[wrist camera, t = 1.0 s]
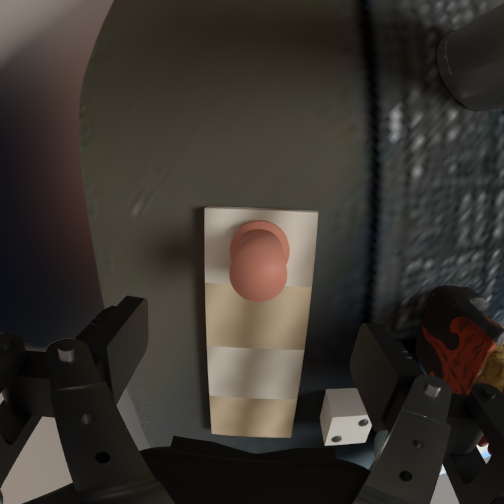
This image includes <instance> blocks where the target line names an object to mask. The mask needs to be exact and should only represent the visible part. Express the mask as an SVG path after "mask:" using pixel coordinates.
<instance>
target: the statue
mask: <svg viewBox="0 0 504 504" xmlns="http://www.w3.org/2000/svg"><path fill="white" fill-rule="evenodd" d="M484 306H485V300H484V298H483V297H482V296H481V295H480V294H478V293H477V292H475V291H474V290H472V289H470V288H467V287H465V288H464V287H456V286H443V287H439V288H437V289H436V290H435V291H434V292H433V294H432V296H431V298H430V300H429V302H428V305H427V307H426V310H425V314H424V316H423V320H422V322H421V325H420V329H419V334H418V336H417V340H416V348H415V349H416V354H417V357H418V359H419V361H420V363H421V365H422V366H423V368H424V370H425V371H426V373H427V375H432V376H436V377H438V378H441V379H442V380H444V381H445V382H447V383H448V384H449V386H450V387H451V389H452V393H455V394H463V395H468V394H469V392H470V390H471V388H472V386H473V385H474V384H476V383H487V384H490V385H492V386H494V387H496V388H497V389H498V390H499V391H500V392H501V393H502V394H503V395H504V329H503V327H502V326H501V325H499V324H497V323H495V322H494V321H493V318H492V317H490V316H487V315H486V314H485V313H484V312H483V311H484ZM487 444H489V442H488V440H487V439H486V437H485V435H483V436H482V438H481V439H480V441H479V442H478V445H479V446H480V447H483V446H486V445H487ZM488 452H489V454H490V455H491V454H492V448H491V445H490V444H489V445H488Z"/></svg>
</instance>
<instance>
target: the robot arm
mask: <svg viewBox="0 0 504 504" xmlns="http://www.w3.org/2000/svg"><path fill="white" fill-rule="evenodd" d="M437 65H438V69H439V72H440V75H441V78H442V80H443V82H444V84H445V86H446V87H447V89H448V90H449V92H450V93H451V94H452V95H453V96H454V97H455V99H456V100H457V101H459V102H460V103H461V104H462V105H464V106H465V107H467V108H469V109H472V110H475V111H487V110H493V109H500V108H504V3H503V4H501V5H499V6H497V7H495V8H493V9H492V10H490V11H488V12H486V13H484V14H483V15H481V16H479V17H477V18H476V19H474V20H472V21H470V22H469V23H467V24H465V25H463V26H462V27H460V28H458V29H457V30H455V31H453V32H452V33H450V34H448V35H447V36H445V37H444V38H443V39H442V40H441V41H440V43H439V45H438V48H437ZM147 344H148V303H147V299H145V298H139V297H133V296H126V297H125V298H124V299H123V300H122V301H121V302H120V303H119V304H118V305H117V306H111V307H109V308H106V309H104V310H102V311H101V312H100V313H99V314H98V315H97V316H96V318H95V319H93V320H92V321H91V323H90V324H89V325H88V326H86V328H85V329H84V330H83V331H82V332H81V333H80V334H79V335H78V336H77V337H76V338H75V339H61V340H57V341H55V342H53V343H51V344H50V345H49V346H48V347H47V349H46V352H39V351H27V350H26V348H25V344H24V340H23V339H22V338H21V337H20V336H18V335H15V334H2V335H0V393H1V392H2V395H3V397H4V400H3V401H2V403H1V404H0V488H1V486H2V484H3V482H4V480H5V479H6V477H7V475H8V473H9V471H10V470H11V468H12V466H13V464H14V463H15V461H16V459H17V457H18V456H19V454H20V452H21V450H22V449H23V447H24V445H25V444H26V442H27V440H28V439H29V437H30V435H31V434H32V432H33V431H34V429H35V427H36V426H37V424H38V422H39V421H40V419H41V418H42V416H45V417H54V418H55V420H56V425H57V429H58V433H59V437H60V441H61V445H62V449H63V452H64V456H65V459H66V462H67V466H68V468H69V472H70V475H71V478H72V481H73V483H71V484H69V485H66V486H64V487H62V488H60V489H57V490H55V491H53V492H51V493H48V494H46V495H43V496H41V497H38V498H36V499H33V500H31V501H28V502H25V503H23V504H430V502H431V499H432V495H433V493H434V490H435V486H436V483H437V480H438V477H439V474H440V470H441V467H442V464H443V466H444V468H445V470H446V473H447V475H448V477H449V480H450V482H451V484H452V487H453V489H454V491H455V493H456V496H457V498H458V501H459V503H460V504H504V395H503V394H502V393H501V392H500V391H499V390H498V389H497V388H496V387H494V386H492V385H490V384H487V383H476V384H474V385H473V386H472V388H471V390H470V392H469V394H468V395H463V394H455V393H452V389H451V387H450V386H449V384H448V383H447V382H445V381H444V380H442V379H441V378H438V377H436V376H432V375H425V374H424V373H423V371H422V370H421V369H420V367H419V366H418V365H417V363H416V362H415V360H414V359H412V356H411V355H410V354H409V353H407V350H406V348H405V347H404V346H403V344H402V343H400V342H399V341H398V340H396V339H395V338H393V337H391V336H390V335H389V333H388V332H387V331H386V329H385V328H384V326H383V325H382V324H368V323H363V324H362V325H361V326H360V329H359V332H358V335H357V339H356V342H355V346H354V349H353V352H352V355H351V359H350V373H351V376H352V378H353V381H354V383H355V385H356V388H357V390H358V393H359V395H360V397H361V400H362V402H363V405H364V407H365V410H366V412H367V415H368V417H369V419H370V422H371V424H372V427H373V429H374V431H385V430H387V431H388V435H387V437H386V438H385V440H384V442H383V444H382V446H381V448H380V450H379V452H378V453H377V455H376V457H375V459H374V461H373V462H372V464H371V466H370V468H369V469H366V468H365V467H362V466H360V465H358V464H355V463H352V462H349V461H345V460H341V459H337V458H336V454H335V450H334V448H294V449H288V450H282V451H275V452H268V453H261V454H253V453H249V452H245V451H242V450H238V449H235V448H231V447H228V446H225V445H222V444H218V443H215V442H210V441H203V440H196V439H190V438H184V437H178V436H173V440H172V443H171V446H168V447H155V448H149V449H145V450H141V451H139V450H138V448H137V446H136V445H135V443H134V441H133V439H132V437H131V435H130V433H129V431H128V429H127V427H126V425H125V423H124V421H123V419H122V417H121V415H120V412H119V410H118V408H117V406H116V405H117V403H118V401H119V399H120V397H121V395H122V393H123V391H124V389H125V388H126V386H127V384H128V382H129V380H130V379H131V377H132V375H133V373H134V371H135V369H136V368H137V366H138V364H139V362H140V360H141V359H142V357H143V355H144V353H145V351H146V349H147ZM483 435H485V437H486V439H487V440H488V442H489V444H490V445H491V448H492V454H491V458H490V460H489V461H488V463H487V464H486V463H485V461H484V459H483V458H482V456H481V454H480V452H479V450H478V449H477V447H476V445H477V444H478V442H479V441H480V439H481V438H482V436H483ZM0 504H3V495H2V492H1V490H0Z"/></svg>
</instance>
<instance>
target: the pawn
mask: <svg viewBox="0 0 504 504" xmlns="http://www.w3.org/2000/svg"><path fill="white" fill-rule="evenodd" d="M289 254H290V248H289V243H288V240H287V237H286V235H285V233H284V232H283V231H282V229H281V228H279V227H278V226H277V225H275V224H274V223H272V222H269V221H265V220H255V221H251V222H248V223H246V224H244V225H243V226H241V227H240V228H239V229H238V230H237V231H236V233H235V234H234V236H233V239H232V241H231V245H230V257H231V261H232V263H231V267H230V271H229V278H230V282H231V285H232V287H233V288H234V290H235V291H236V292H237V293H238V294H239V295H240V296H241V297H243V298H245V299H247V300H250V301H254V302H263V301H268V300H270V299H272V298H274V297H276V296H277V295H278V294H279V293H280V292H281V291H282V290H283V288H284V287H285V285H286V282H287V267H286V264H287V262H288V259H289Z"/></svg>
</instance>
